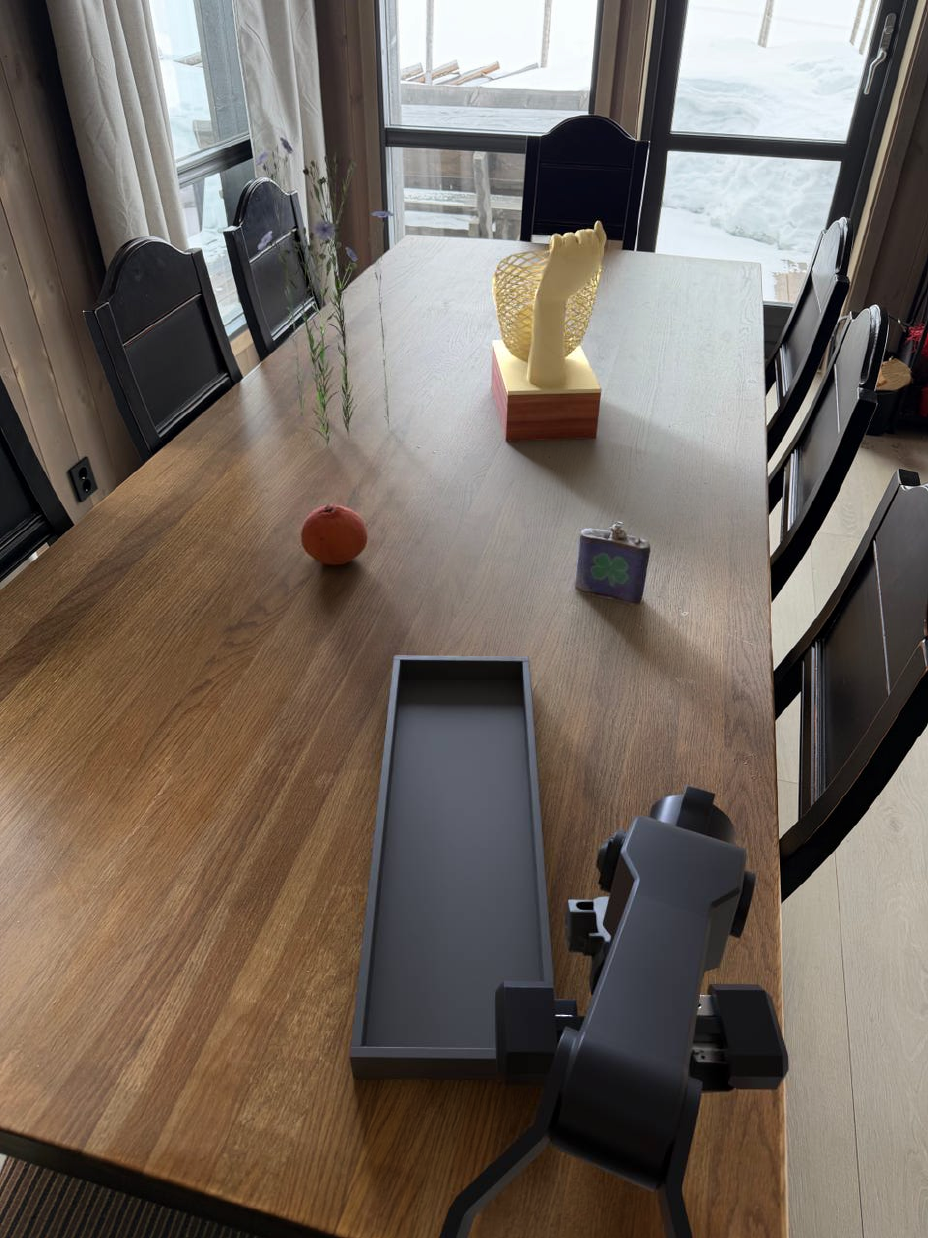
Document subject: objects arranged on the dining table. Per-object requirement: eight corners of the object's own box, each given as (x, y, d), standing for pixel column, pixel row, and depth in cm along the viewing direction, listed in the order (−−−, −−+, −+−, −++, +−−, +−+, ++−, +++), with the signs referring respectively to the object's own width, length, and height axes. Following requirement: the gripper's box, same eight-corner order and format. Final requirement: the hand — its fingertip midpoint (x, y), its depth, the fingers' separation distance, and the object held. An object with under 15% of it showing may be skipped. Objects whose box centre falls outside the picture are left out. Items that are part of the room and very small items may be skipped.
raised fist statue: (600, 442, 150) (625, 227, 128) (497, 445, 148) (505, 228, 127) (574, 384, 169) (592, 189, 147) (483, 386, 168) (487, 190, 146)
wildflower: (423, 439, 150) (417, 148, 122) (300, 470, 141) (262, 164, 113) (368, 392, 165) (352, 124, 137) (253, 418, 156) (210, 136, 128)
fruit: (291, 565, 120) (284, 516, 115) (327, 535, 126) (322, 486, 121) (345, 583, 116) (340, 533, 112) (379, 550, 123) (376, 501, 118)
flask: (571, 591, 116) (579, 522, 109) (577, 579, 118) (585, 511, 111) (639, 607, 113) (651, 538, 106) (644, 595, 115) (656, 526, 108)
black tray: (556, 1081, 66) (560, 1060, 64) (352, 1079, 66) (349, 1057, 64) (527, 679, 102) (529, 656, 100) (395, 677, 102) (393, 655, 100)
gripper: (768, 866, 59) (723, 985, 69) (496, 863, 59) (490, 982, 69) (818, 1027, 51) (759, 1137, 60) (500, 1023, 51) (492, 1133, 60)
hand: (620, 1089), depth 63 cm, fingers closed on pill bottle, 6 cm apart
